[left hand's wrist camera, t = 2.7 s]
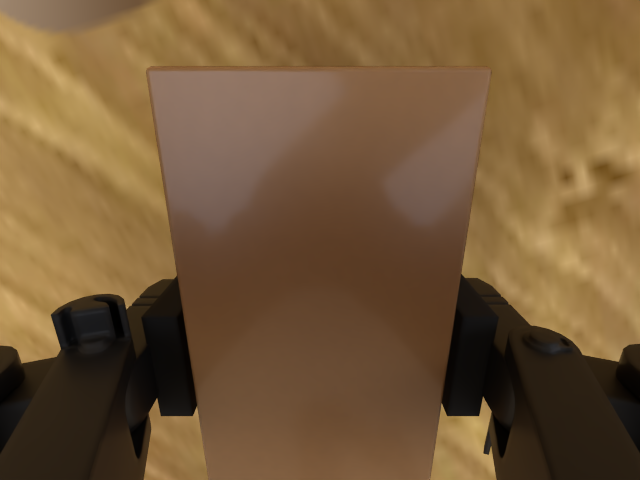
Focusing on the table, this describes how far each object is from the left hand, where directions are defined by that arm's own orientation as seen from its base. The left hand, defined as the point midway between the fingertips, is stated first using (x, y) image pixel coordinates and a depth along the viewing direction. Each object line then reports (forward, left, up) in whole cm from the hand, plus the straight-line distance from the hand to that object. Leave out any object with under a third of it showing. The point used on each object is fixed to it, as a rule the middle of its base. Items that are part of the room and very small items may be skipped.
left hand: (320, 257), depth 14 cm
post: (+23, +10, -1) cm, 26 cm away
